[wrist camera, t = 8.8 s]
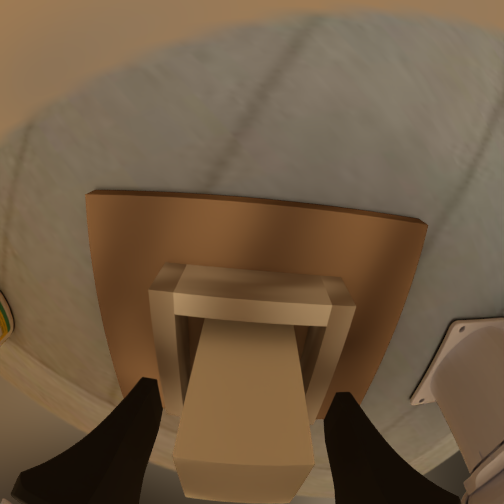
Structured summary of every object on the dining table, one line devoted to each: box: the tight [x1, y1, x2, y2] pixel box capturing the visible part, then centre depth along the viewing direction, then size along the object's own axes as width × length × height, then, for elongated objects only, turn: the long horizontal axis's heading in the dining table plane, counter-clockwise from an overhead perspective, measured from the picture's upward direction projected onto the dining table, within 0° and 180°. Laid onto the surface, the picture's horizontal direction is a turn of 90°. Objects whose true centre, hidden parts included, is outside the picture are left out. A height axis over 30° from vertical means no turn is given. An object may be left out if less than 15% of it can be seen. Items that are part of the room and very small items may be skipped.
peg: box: [172, 318, 315, 503], centre depth 11 cm, size 4×4×8 cm
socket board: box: [85, 190, 428, 425], centre depth 14 cm, size 16×14×4 cm
